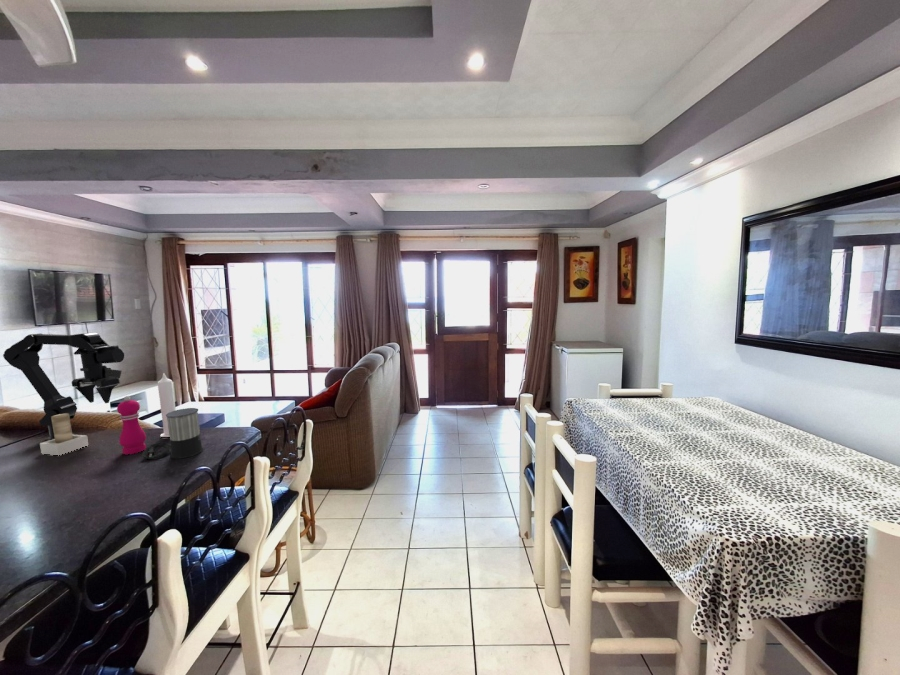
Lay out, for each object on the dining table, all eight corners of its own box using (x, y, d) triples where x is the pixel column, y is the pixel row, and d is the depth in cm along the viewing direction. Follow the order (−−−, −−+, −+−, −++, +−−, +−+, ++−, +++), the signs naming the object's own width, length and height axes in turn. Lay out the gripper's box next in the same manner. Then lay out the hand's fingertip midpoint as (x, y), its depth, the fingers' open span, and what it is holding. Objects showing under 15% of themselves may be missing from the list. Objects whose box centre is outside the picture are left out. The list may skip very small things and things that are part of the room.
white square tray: (41, 454, 132) (39, 443, 131) (72, 444, 140) (70, 434, 140) (58, 456, 129) (56, 445, 129) (88, 445, 138) (87, 435, 137)
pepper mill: (153, 447, 134) (145, 393, 132) (134, 455, 127) (126, 399, 125) (135, 446, 135) (127, 393, 133) (115, 455, 128) (107, 399, 126)
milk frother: (206, 452, 128) (201, 410, 126) (148, 469, 116) (142, 423, 115) (195, 442, 138) (191, 403, 136) (141, 456, 126) (135, 414, 124)
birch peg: (54, 451, 134) (48, 416, 132) (71, 446, 138) (65, 412, 136) (60, 453, 132) (54, 418, 130) (76, 448, 136) (71, 414, 134)
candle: (186, 432, 148) (179, 371, 145) (168, 439, 142) (160, 375, 139) (174, 431, 151) (166, 370, 148) (155, 437, 144) (147, 374, 141)
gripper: (131, 360, 151) (137, 397, 153) (101, 360, 157) (107, 396, 159) (98, 366, 140) (106, 405, 142) (67, 366, 146) (74, 404, 148)
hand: (99, 402), depth 148 cm, fingers open, 9 cm apart
